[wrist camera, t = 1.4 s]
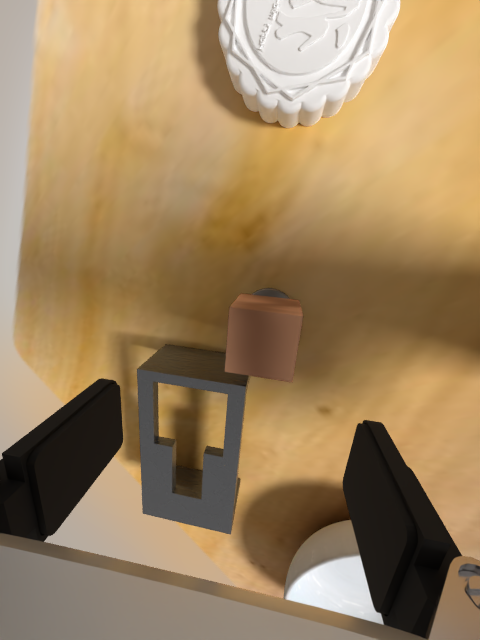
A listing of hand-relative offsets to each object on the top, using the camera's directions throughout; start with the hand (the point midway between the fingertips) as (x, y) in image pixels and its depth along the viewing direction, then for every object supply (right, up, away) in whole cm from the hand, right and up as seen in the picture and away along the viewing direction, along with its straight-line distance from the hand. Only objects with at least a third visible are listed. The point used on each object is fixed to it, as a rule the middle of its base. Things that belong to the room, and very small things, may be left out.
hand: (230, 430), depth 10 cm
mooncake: (+5, +26, +10) cm, 28 cm away
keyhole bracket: (-4, -8, +21) cm, 23 cm away
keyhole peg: (+3, +5, +16) cm, 17 cm away
